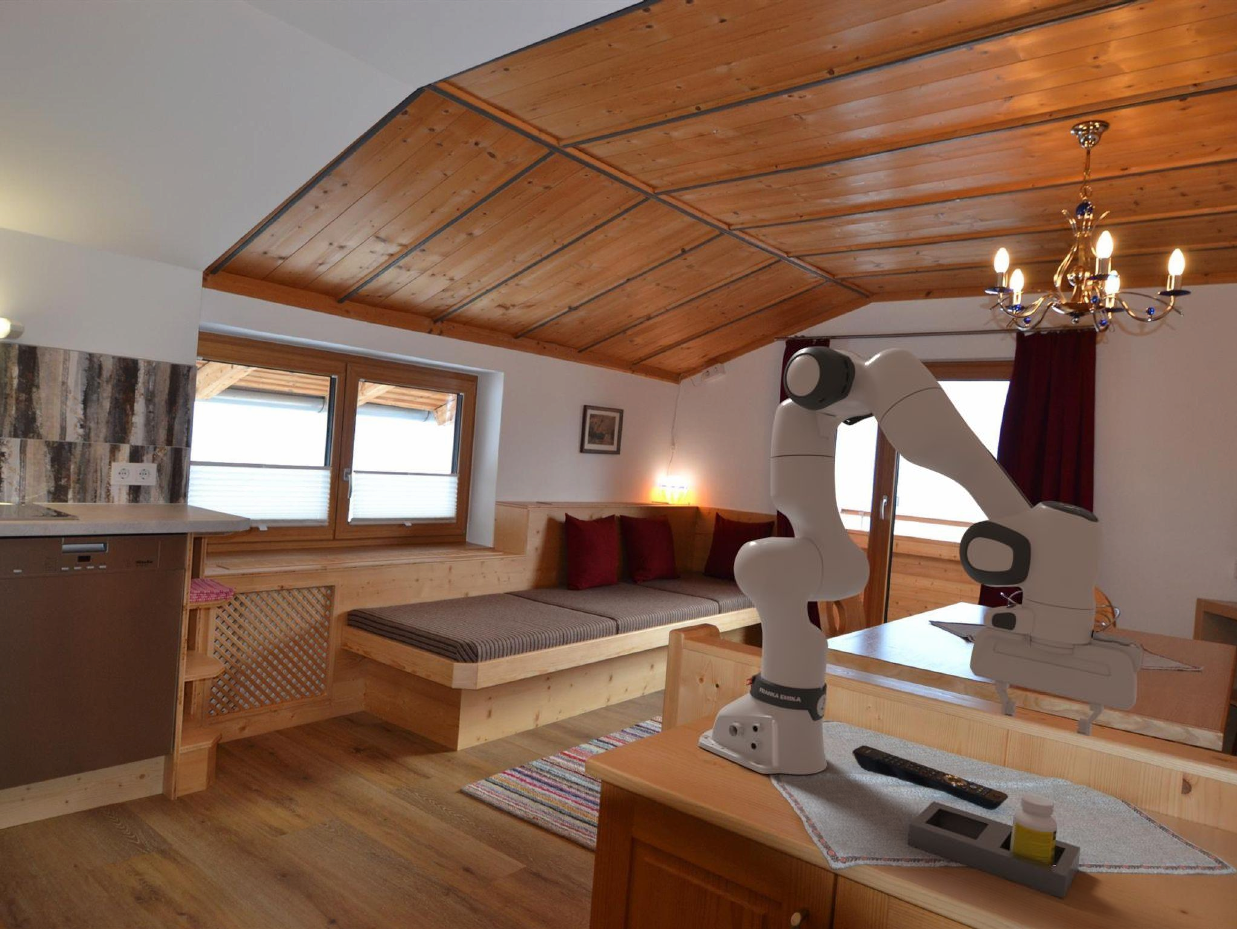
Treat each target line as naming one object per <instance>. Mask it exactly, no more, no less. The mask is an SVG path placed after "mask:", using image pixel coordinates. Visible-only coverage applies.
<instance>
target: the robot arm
mask: <svg viewBox="0 0 1237 929" xmlns="http://www.w3.org/2000/svg"><path fill="white" fill-rule="evenodd" d="M783 387H784V391H785V394H786V396H787V397H788V398H787V399H785V400H783V401H781V403H780V404H779V405H778V406H777V408H776V411H775V414H774V419H773V425H772V430H771V440H770V443H771V444H770V485H769V486H770V489H769V490H770V491H769V492H770V500H771V503H772V505H773V507H774V508H775V509H776V510H777V511H779V512H780V513H782V514H783V515H784V516H786V518H787V519H788V520H789V523H790V524H791V527H792V529H793V534H794V537H783V536H782V537H781V536H780V537H779V536H778V537H776V536H770V537H765V538H760V539H755V540H751V541H747V542H746V543H744V544H743V545H742V546H741V547H740V549H739V550H738V552H737V554H736V556H735V559H734V562H733V563H734V565H733V573H734V580H735V582H736V585H737V586H738V588H739V589H740V591H741V592H742V593H743V594H744V595H745V596H746V597H747V598H748V599H749V600H750V601H751V603H752V604H753V606H754V608H755V609H756V611H757V614H758V617H759V620H760V623H761V629H762V631H761V632H762V647H761V650H762V652H761V666H760V667H761V668H760V670H759V671H758V673H757V674H753V675H751V677H750V678H747V679H746V681H747V682H746V683H745V686H750V689H749V692H747V693H746V694H744V695H742V696H740V697H738V698H736V699H735V700H733V701H731V702H730V703H728V704H726V705H725V706H724V707H722V708H721V709H720V710H719V711H718V713H717V715H716V716H715V719H714V723H713V727H712V728H711V729H709V730H707V731H705V732H703V733H702V734H701V735H700V737H699V740H698V746H699V747H700V748H702V749H704V750H707V751H710V752H711V753H714V754H716V755H718V756H720V757H723V758H725V759H726V760H727V759H728V760H730V761H732V762H734V763H736V764H738V765H741V766H743V767H745V768H748V769H751V770H753V771H755V772H757V773H760V774H767V775H771V774H789V775H810V774H818V773H820V772H822V771H824V770H825V769H826V768H827V767H828V762H827V759H826V752H825V744H824V743H825V742H824V727H823V726H824V725H823V722H824V721H823V719H824V717H825V713H826V709H827V708H826V707H827V697H828V696H827V690H828V688H827V687H828V685H827V683H826V675H827V674H826V673H827V665H828V664H827V662H828V652H829V651H828V649H829V642H828V638H827V637H826V635H825V633H824V632H823V631H822V630H821V629H820V628H818V627H817V626H816V625H814V624H813V623H812V622H811V620H810V618H809V614H808V613H809V612H808V602H836V601H840V600H845V599H848V598H851V597H854V596H855V597H856V596H857V595H858V596H859V594H861V593H862V592H863V591H864V589H865V588H866V586H867V584H868V582H869V578H870V563H869V560H868V557H867V555H866V552H865V551H864V550H863V548H862V547H860V546H859V545H858V544H857V542H855V541H854V540H853V539H852V537H851V536H850V534H849V532H848V531H847V529H846V527H845V525H844V523H843V520H842V518H841V514H840V512H839V508H838V504H837V493H836V471H835V470H836V468H835V467H836V466H835V464H836V463H835V436H836V432H837V429H838V427H840V425H841V424H842V423H843V424H845V425H846V426H853V425H856V424H857V423H859V422H861V421H864V420H866V419H870V418H874V419H875V420H876V422H877V424H878V425H879V427H880V429H881V431H882V432H883V434H884V437H885V438H886V440H887V441H888V442H889V443H890V445H891V446H892V447H893V448H894V450H896V452H897V453H898V454H899V455H900V456H901V457H902V458H903V459H904V460H906V462H909V463H910V464H913V465H916V466H917V467H921V468H924V469H927V470H929V471H932V472H935V473H938V474H939V475H943V476H944V477H946V478H949V479H950V480H953V481H954V482H955V483H956V484H959V485H960V486H961V487H962V488H963V489H964V490H965V491H966V492H967V493H969V494H968V495H970V496H971V498H972V499H973V500H974V501H975V503H976V504H977V505H978V507H979V508H980V510H981V511H982V512H983V514H984V515H985V516H986V518H987V519H985V520H981V521H977V522H975V523H973V524H971V525H970V526H969V527H968V528H967V529H966V531H964V533H963V535H962V536H961V539H960V543H959V546H958V554H959V556H958V557H959V561H960V563H961V564H960V565H961V567H962V568H963V571H964V572H965V573H966V575H968V576H967V577H969V578H970V579H971V580H973V581H975V582H976V583H978V584H981V585H984V586H986V587H987V586H988V587H994V588H1003V587H1004V588H1005V587H1009V588H1015V587H1019V588H1020V589H1021V590H1022V603H1021V604H1011V605H1010V604H1009V605H1004V606H1003V605H1001V606H997V607H993V608H991V609H988V610H987V611H986V612H985V613H984V615H983V624H984V626H985V627H984V628H981V629H980V630H979V632H978V633H977V634H976V636H975V639H974V642H973V647H972V650H971V656H970V662H969V669H970V671H971V672H972V673H973V675H974V676H976V677H979V678H984V679H987V680H992V681H995V686H994V689H995V691H996V694H997V696H998V698H999V700H1000V702H1001V710H1000V711H1001V712H1000V713H1001V715H1003V716H1009V717H1012V718H1013V717H1014V716H1015V715H1016V707H1017V702H1016V701H1013V700H1011V699H1010V697H1009V695H1008V692H1007V690H1008V688H1009V687H1010V685H1013V686H1018V687H1021V688H1026V689H1029V690H1035V691H1038V692H1045V693H1048V694H1052V695H1057V696H1061V697H1064V698H1065V697H1066V698H1069V699H1073V700H1078V701H1083V702H1087V703H1089V709H1088V710H1089V711H1090V712H1092V713H1091V714H1090V715H1089V716H1088V718H1082V717H1080V718H1079V719H1078V720H1077V729H1076V733H1077V734H1079V735H1083V736H1086V737H1090V736H1091V734H1092V729H1093V723H1094V722H1095V720H1096V719H1098V717H1099V716H1100V715H1101V714H1102V713H1103V711H1104V708H1105V707H1108V708H1112V709H1116V710H1121V711H1128V710H1129V709H1131V708H1132V707H1134V706H1135V704H1136V701H1137V698H1138V697H1137V694H1138V689H1137V688H1138V676H1137V674H1138V672H1140V671H1141V670H1142V668H1143V666H1144V665H1143V664H1144V658H1145V657H1144V654H1145V653H1144V650H1143V648H1142V646H1141V645H1140V644H1139V643H1137V642H1136V641H1134V640H1133V639H1132V637H1129V636H1125V635H1116V634H1111V633H1109V632H1105V631H1104V632H1103V631H1099V630H1095V629H1094V625H1095V618H1096V610H1097V608H1096V607H1097V601H1096V598H1095V597H1096V596H1095V588H1096V584H1097V581H1098V580H1099V579H1100V574H1101V565H1102V564H1101V563H1102V550H1103V549H1102V548H1103V545H1102V542H1103V541H1102V540H1103V538H1102V527H1101V523H1100V520H1099V518H1098V517H1097V516H1096V515H1095V513H1093V512H1091V511H1090V510H1088V509H1085V508H1084V507H1080V506H1077V505H1074V504H1070V503H1065V502H1062V501H1055V500H1046V501H1041V502H1039V503H1037V504H1036V505H1033V504H1032V503H1031V502H1030V500H1029V499H1028V498H1027V497H1026V495H1025V493H1023V490H1021V489H1020V487H1019V486H1018V485H1017V483H1016V482H1015V481H1014V479H1013V478H1012V477H1011V475H1010V474H1009V473H1008V472H1007V470H1005V468H1004V467H1003V466H1002V464H1001V463H1000V462H999V460H998V458H996V457H995V456H994V455H993V453H992V452H991V451H990V450H989V449H988V448H987V446H986V445H985V444H984V443H983V442H982V441H981V439H980V438H979V436H978V435H977V434H976V433H975V432H974V431H973V429H972V428H971V427H970V426H969V425H968V423H967V421H966V420H965V419H964V418H963V416H962V414H961V413H960V412H959V410H958V409H957V408H956V406H955V404H954V403H953V402H952V400H951V398H950V397H949V395H947V393H946V391H945V389H943V387H942V385H941V384H940V383H939V382H938V380H937V379H936V378H935V376H934V375H933V374H932V372H931V371H930V370H929V369H928V367H926V365H924V364H923V362H922V361H920V360H919V359H918V357H917V356H915V355H914V354H913V353H912V352H911V351H909V350H907V349H905V348H902V347H901V348H900V347H893V348H892V347H891V348H888V349H884V350H882V351H880V352H878V353H876V354H874V355H873V356H872V357H868V356H866V355H864V354H862V353H859V352H855V351H851V350H846V349H845V350H842V349H834V348H831V347H828V346H824V345H823V346H819V345H818V346H817V345H816V346H807V347H805V348H802V349H800V350H798V351H797V352H795V353H794V354H793V355H792V356H791V357H790V358H789V360H788V361H787V364H786V365H785V368H784V373H783ZM1132 645H1133V646H1132Z"/></svg>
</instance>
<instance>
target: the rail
mask: <svg viewBox="0 0 1237 929" xmlns="http://www.w3.org/2000/svg"><path fill="white" fill-rule="evenodd" d="M1012 826H1013V825H1010V824H1007V823H1005V822H1001V821H998V820H995V819H991V818H988V817H985V816H983V815H979V814H976V813H972V812H969V811H966V810H964V809H963V810H962V809H959V808H956V807H954V806H950V805H946V804H943V803H940V802H937V801H934V800H933V801H932V802H931V803H930V804H929V805H927V807H926V808H924V809H923V810H922V811H921V812H920V813H919V814H918V815H917V816H916V817H915V818H914V819H913V820H911V822H910V823H909V827H908V835H907V836H908V838H907V846H910V847H914V848H917V849H920V850H922V851H925V852H927V853H930V852H931V853H930V854H933V853H934V855H937V856H939V857H942V856H943V857H942V858H945V859H947V858H948V860H950V859H951V861H954V862H957V863H959V864H962V865H965V866H968V867H970V868H974V869H977V870H979V871H982V872H985V873H987V874H990V875H994V876H996V877H998V878H999V877H1000V878H1002V879H1005V880H1008V881H1011V882H1013V883H1017V884H1019V885H1022V886H1025V887H1028V888H1030V889H1034V890H1037V891H1039V892H1042V893H1045V894H1047V895H1051V896H1054V897H1056V898H1059V899H1062V900H1064V899H1065V897H1066V895H1067V892H1068V890H1069V888H1070V886H1071V885H1072V882H1073V880H1074V878H1075V877H1076V873H1077V872H1078V870H1079V863H1080V855H1081V847H1080V846H1077V845H1073V844H1070V843H1067V842H1064V841H1061V840H1058V839H1056V841H1055V850H1054V860H1053V865H1056V866H1053V865H1050V864H1047V863H1044V862H1041V861H1038V860H1035V859H1032V858H1029V857H1026V856H1023V855H1020V854H1017V853H1014V852H1011V851H1010V844H1011V836H1012Z"/></svg>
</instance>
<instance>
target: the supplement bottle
mask: <svg viewBox="0 0 1237 929" xmlns="http://www.w3.org/2000/svg"><path fill="white" fill-rule="evenodd" d="M1020 800H1021V801H1020V807H1021V808H1019V809H1016V811H1015V812H1014V814H1013V819H1012V825H1011V826H1012V836H1011V844H1010V851H1011V852H1014V853H1017V854H1020V855H1023V856H1026V857H1029V858H1032V859H1035V860H1038V861H1041V862H1044V863H1047V864H1050V865H1053V860H1054V850H1055V841H1056V840H1057V838H1056V837H1057V832H1058V831H1057V830H1058V823H1057V821H1056V820H1055V818H1054V817H1053V816H1052V815H1053V812H1054V807H1055V804H1054V802H1053V800H1052V799H1050V798H1048V797H1046V796H1043V795H1039V794H1036V793H1024V794H1022V795H1021V799H1020Z"/></svg>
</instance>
